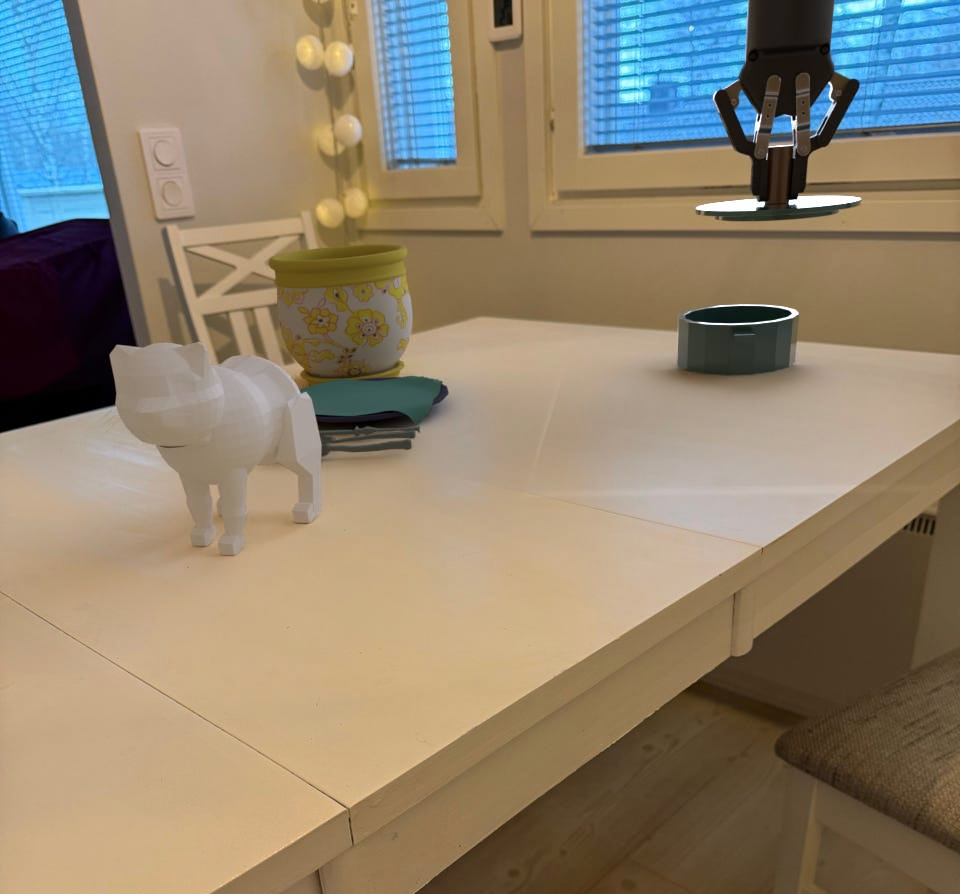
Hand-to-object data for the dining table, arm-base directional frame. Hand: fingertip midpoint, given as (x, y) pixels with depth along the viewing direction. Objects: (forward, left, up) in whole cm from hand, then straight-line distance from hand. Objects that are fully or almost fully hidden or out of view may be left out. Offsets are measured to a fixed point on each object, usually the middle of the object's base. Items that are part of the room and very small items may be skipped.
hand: (777, 199), depth 93 cm
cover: (0, 0, -1) cm, 1 cm away
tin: (+1, -22, -21) cm, 31 cm away
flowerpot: (+52, -22, -21) cm, 60 cm away
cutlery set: (+45, +1, -21) cm, 50 cm away
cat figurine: (+46, +34, -21) cm, 61 cm away
